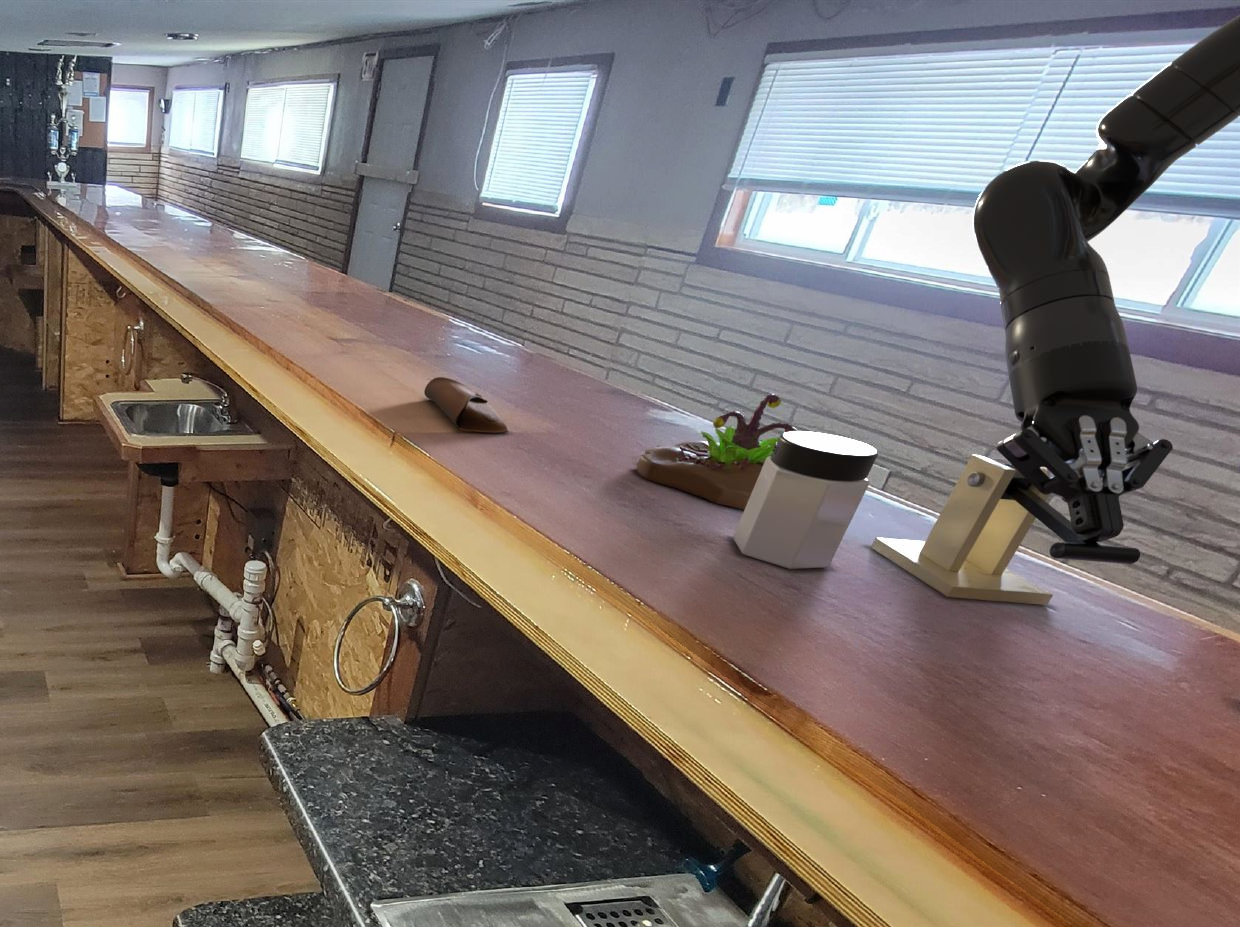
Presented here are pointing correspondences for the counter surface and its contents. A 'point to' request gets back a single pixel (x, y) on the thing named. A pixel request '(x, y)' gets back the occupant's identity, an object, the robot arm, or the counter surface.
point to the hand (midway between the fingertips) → (1100, 538)
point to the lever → (1064, 528)
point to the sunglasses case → (464, 406)
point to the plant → (716, 459)
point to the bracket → (973, 540)
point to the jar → (804, 499)
